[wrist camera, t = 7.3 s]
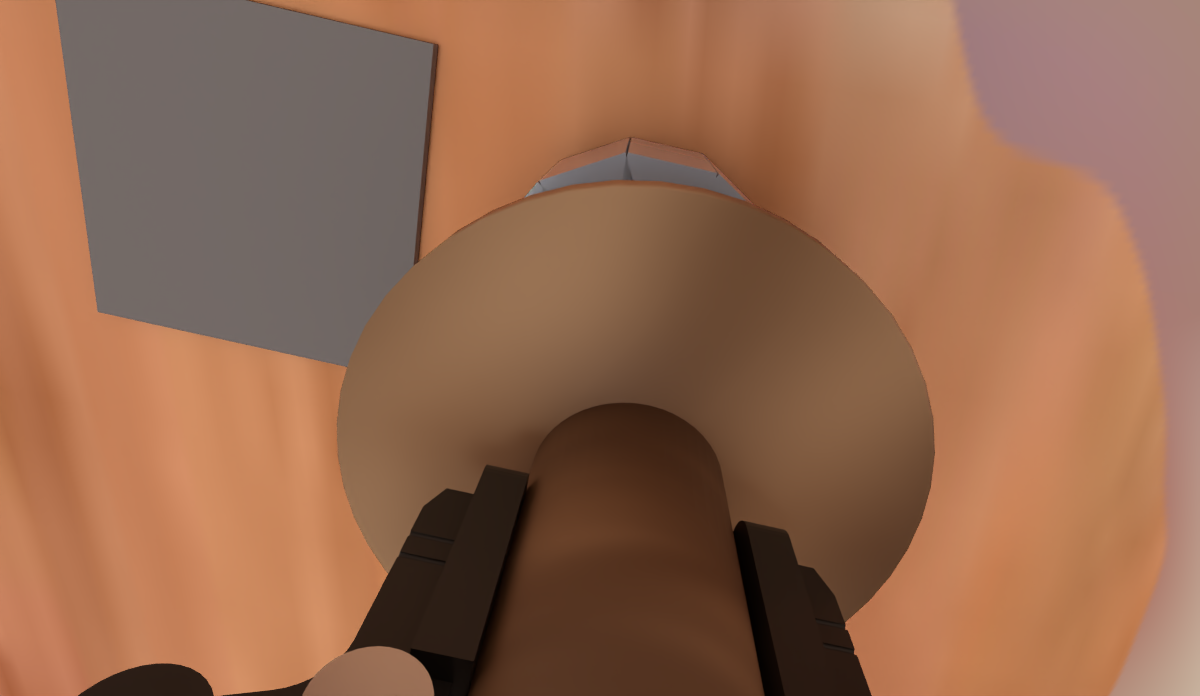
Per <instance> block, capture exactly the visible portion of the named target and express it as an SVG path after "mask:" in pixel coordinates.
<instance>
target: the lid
mask: <svg viewBox="0 0 1200 696" xmlns="http://www.w3.org/2000/svg"><path fill="white" fill-rule="evenodd" d="M337 445H338V459H339V464H340V470H341V475H342V480H343V486H344V489H345V492H346V495H347V498H348V501H349V504H350V507H351V510H352V513H353V515H354V518H355V520H356V522H357V524H358V526H359V528H360V530H361V532H362V534H363V536H364V538H365V540H366V542H367V544H368V545H369V547H370V548H371V550H372V551H373V553H374V554H375V556H376V557H377V559H378V560H379V562H380V563H381V565H382V566H383V568H384V569H385V571H386V572H387V573H389V572H390V570H391V568H392V566H393V564H394V562H395V560H396V558H397V557H398V556H399V553H400V550H401V548H402V546H403V544H404V542H405V541H406V539H407V537H408V536H409V535H410V531H411V529H412V527H413V525H414V523H415V521H416V519H417V517H418V515H419V513H420V511H421V510H422V508H423V506H424V505H425V504H427V503H428V502H429V501H431V500H432V499H433V498H435V497H436V496H437V495H438V494H440V493H441V492H442V491H444V490H445V489H446V488H448V489H453V490H457V491H462V492H467V493H471V494H474V492H475V490H476V487H477V485H478V482H479V480H480V478H481V475H482V473H483V470H484V468H485V466H486V465H487V464H488V465H492V466H497V467H501V468H506V469H511V470H515V471H520V472H524V473H529V480H528V485H527V490H526V494H525V497H524V501H523V504H522V508H521V511H520V515H519V518H518V522H517V525H516V529H515V532H514V536H513V539H512V543H511V546H510V550H509V553H508V557H507V560H506V564H505V567H504V571H503V574H502V578H501V581H500V585H499V588H498V592H497V595H496V598H495V602H494V605H493V609H492V612H491V616H490V619H489V623H488V626H487V630H486V633H485V637H484V640H483V644H482V647H481V651H480V654H479V658H478V661H477V665H476V668H475V672H474V675H473V679H472V682H471V686H470V689H469V693H468V696H765V694H764V689H763V684H762V679H761V674H760V669H759V663H758V658H757V653H756V648H755V643H754V637H753V632H752V627H751V622H750V617H749V612H748V606H747V601H746V596H745V591H744V586H743V580H742V575H741V570H740V565H739V560H738V555H737V549H736V544H735V539H734V534H733V531H734V528H735V526H736V525H737V523H738V522H739V521H741V520H743V521H747V522H752V523H757V524H761V525H766V526H770V527H775V528H780V529H784V530H786V531H787V533H788V534H789V537H790V540H791V543H792V546H793V549H794V553H795V556H796V559H797V562H798V565H802V566H806V567H811V568H814V569H815V571H816V572H817V573H818V574H819V576H820V577H821V578H822V580H823V581H824V582H825V583H826V585H827V586H828V587H829V588H830V590H831V591H832V592H833V594H834V595H835V597H836V600H837V602H838V605H839V608H840V611H841V613H842V616H843V619H844V622H846V621H847V620H848V619H849V618H851V617H852V616H853V615H854V614H855V613H856V612H857V611H858V610H859V609H860V608H862V607H863V606H864V605H865V604H866V603H867V602H868V601H869V600H870V599H871V598H872V597H873V596H874V594H875V593H876V592H877V591H878V590H879V589H880V587H881V586H882V585H883V584H884V583H885V582H886V580H887V579H888V578H889V577H890V576H891V574H892V573H893V571H894V569H895V568H896V566H897V565H898V563H899V562H900V560H901V559H902V557H903V556H904V554H905V552H906V551H907V549H908V547H909V545H910V543H911V541H912V539H913V536H914V534H915V532H916V530H917V528H918V526H919V523H920V521H921V519H922V516H923V512H924V509H925V505H926V502H927V498H928V495H929V491H930V488H931V480H932V472H933V464H934V455H935V448H934V426H933V415H932V411H931V406H930V401H929V397H928V392H927V387H926V383H925V380H924V378H923V375H922V373H921V370H920V368H919V365H918V363H917V360H916V357H915V355H914V352H913V350H912V348H911V346H910V344H909V343H908V341H907V339H906V338H905V336H904V334H903V333H902V331H901V329H900V328H899V326H898V324H897V322H896V321H895V319H894V317H893V316H892V314H891V313H890V312H889V311H888V309H887V308H886V307H885V306H884V305H883V303H882V302H881V301H880V300H879V299H878V297H877V296H876V295H875V294H874V293H873V291H872V290H871V289H870V288H869V287H868V286H867V284H866V283H865V282H864V281H863V280H862V279H861V278H860V277H858V276H857V275H856V274H855V273H854V272H853V271H852V270H851V269H850V268H849V267H848V266H847V265H845V264H844V263H843V262H842V261H841V260H840V259H839V258H837V257H836V256H835V255H834V254H833V253H832V252H831V251H830V250H828V249H827V248H826V247H825V246H824V245H823V244H822V243H820V242H819V241H818V240H816V239H815V238H813V237H812V236H810V235H808V234H807V233H805V232H804V231H802V230H801V229H799V228H798V227H796V226H795V225H793V224H791V223H790V222H788V221H787V220H785V219H784V218H781V217H779V216H777V215H775V214H773V213H771V212H768V211H766V210H764V209H762V208H760V207H758V206H755V205H753V204H751V203H749V202H747V201H744V200H741V199H738V198H734V197H731V196H728V195H725V194H721V193H718V192H715V191H711V190H708V189H705V188H700V187H693V186H687V185H681V184H675V183H669V182H663V181H637V180H611V181H602V182H593V183H583V184H574V185H569V186H565V187H561V188H557V189H553V190H549V191H545V192H541V193H537V194H533V195H530V196H527V197H525V198H522V199H520V200H517V201H515V202H512V203H510V204H507V205H505V206H502V207H500V208H497V209H495V210H493V211H491V212H489V213H487V214H486V215H484V216H482V217H480V218H479V219H477V220H475V221H474V222H472V223H470V224H468V225H467V226H465V227H463V228H461V229H460V230H458V231H457V232H455V233H454V234H453V235H452V236H450V237H449V238H448V239H447V240H445V241H444V242H443V243H442V244H440V245H439V246H438V247H436V248H435V249H434V250H433V251H431V252H430V253H429V254H428V255H426V256H425V257H424V258H423V259H421V260H420V261H419V262H418V263H417V264H415V265H414V266H413V267H412V268H411V269H410V270H409V271H408V272H407V273H406V274H405V275H404V276H403V277H402V279H401V280H400V281H399V282H398V283H397V284H396V285H395V286H394V287H393V288H392V289H391V290H390V291H389V292H388V294H387V295H386V296H385V297H384V299H383V300H382V302H381V303H380V305H379V306H378V308H377V309H376V311H375V312H374V313H373V315H372V316H371V318H370V319H369V321H368V322H367V324H366V325H365V327H364V329H363V331H362V333H361V336H360V338H359V340H358V342H357V344H356V346H355V348H354V351H353V353H352V355H351V357H350V360H349V363H348V367H347V370H346V374H345V377H344V381H343V384H342V388H341V392H340V401H339V409H338V417H337Z"/></svg>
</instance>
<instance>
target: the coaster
mask: <svg viewBox="0 0 1200 696" xmlns="http://www.w3.org/2000/svg"><path fill="white" fill-rule="evenodd" d="M55 1H56V8H57V15H58V23H59V30H60V37H61V45H62V52H63V59H64V67H65V74H66V82H67V89H68V96H69V104H70V111H71V118H72V126H73V133H74V140H75V148H76V155H77V163H78V170H79V177H80V185H81V192H82V199H83V207H84V214H85V221H86V229H87V236H88V243H89V251H90V258H91V266H92V273H93V280H94V288H95V295H96V302H97V310H98V312H101V313H105V314H110V315H114V316H119V317H124V318H128V319H133V320H137V321H142V322H146V323H151V324H155V325H160V326H164V327H169V328H173V329H178V330H182V331H187V332H191V333H196V334H201V335H205V336H210V337H214V338H219V339H223V340H228V341H232V342H237V343H241V344H246V345H250V346H255V347H259V348H264V349H268V350H273V351H277V352H282V353H287V354H291V355H296V356H300V357H305V358H309V359H314V360H318V361H323V362H327V363H332V364H336V365H341V366H345V367H348V363H349V360H350V357H351V355H352V353H353V351H354V348H355V346H356V344H357V342H358V340H359V338H360V336H361V333H362V331H363V329H364V327H365V325H366V324H367V322H368V321H369V319H370V318H371V316H372V315H373V313H374V312H375V311H376V309H377V308H378V306H379V305H380V303H381V302H382V300H383V299H384V297H385V296H386V295H387V294H388V292H389V291H390V290H391V289H392V288H393V287H394V286H395V285H396V284H397V283H398V282H399V281H400V280H401V279H402V277H403V276H404V275H405V274H406V273H407V272H408V271H409V270H410V269H411V268H412V267H413V266H414V265H415V264H417V263H418V255H419V244H420V234H421V223H422V212H423V201H424V191H425V180H426V169H427V158H428V148H429V137H430V126H431V115H432V105H433V94H434V83H435V72H436V61H437V51H438V45H436V44H432V43H428V42H423V41H419V40H415V39H410V38H406V37H402V36H398V35H393V34H389V33H385V32H381V31H376V30H372V29H368V28H363V27H359V26H355V25H351V24H346V23H342V22H338V21H334V20H329V19H325V18H321V17H316V16H312V15H308V14H304V13H299V12H295V11H291V10H287V9H282V8H278V7H274V6H269V5H265V4H261V3H257V2H252V1H248V0H55Z"/></svg>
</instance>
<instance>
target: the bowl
mask: <svg viewBox="0 0 1200 696" xmlns="http://www.w3.org/2000/svg"><path fill="white" fill-rule="evenodd" d="M611 180H637V181H663V182H669V183H675V184H681V185H687V186H693V187H700V188H705V189H708V190H711V191H715V192H718V193H721V194H725V195H728V196H731V197H734V198H738V199H741V200H744V201H747V202H749V203H751V204H753V203H752V202H751V201H750V200H749V199H748V198H747V197H746V196H745V195H744V194H743V193H742V192H741V191H740V190H739V189H738V188H737V187H736V186H735V185H734V184H733V183H732V182H731V181H730V180H729V179H728V178H727V177H726V176H725V175H724V174H723V173H722V172H721V171H720V170H719V169H718V168H717V167H716V166H715V165H714V164H713V163H712V162H711V161H710V160H709V159H708V158H707V157H706V156H705V155H703V154H702V153H698V152H694V151H690V150H685V149H681V148H677V147H672V146H668V145H664V144H659V143H655V142H651V141H646V140H642V139H638V138H634V137H632V138H631V141H630V137H628V138H625V139H622V140H619V141H616V142H613V143H610V144H607V145H604V146H601V147H598V148H595V149H592V150H589V151H586V152H583V153H580V154H577V155H574V156H571V157H568V158H565V159H562V160H561V161H559V162H558V163H557V164H556V165H555V166H554V167H553V168H552V169H551V170H550V171H549V172H547V173H546V174H545V175H544V176H543V177H542V178H541V179H540V180H539V181H538V182H537V183H536V184H535V186H534V187H533V188H532V189H531V190H530V191H529V193H528V194H527V195H526V196H525V197H527V196H530V195H533V194H537V193H541V192H545V191H549V190H553V189H557V188H561V187H565V186H569V185H574V184H583V183H593V182H602V181H611ZM525 197H524V198H525ZM753 205H754V204H753Z"/></svg>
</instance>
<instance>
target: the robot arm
mask: <svg viewBox="0 0 1200 696" xmlns="http://www.w3.org/2000/svg"><path fill="white" fill-rule="evenodd" d="M528 480H529V473H524V472H520V471H515V470H511V469H506V468H501V467H497V466H492V465H488V464H487V465H486V466H485V468H484V470H483V473H482V475H481V478H480V480H479V482H478V485H477V487H476V490H475V492H474V494H471V493H467V492H462V491H457V490H453V489H448V488H446V489H445V490H444V491H442V492H441V493H440V494H438V495H437V496H436V497H435V498H433V499H432V500H431V501H429V502H428V503H427V504H425V505H424V506H423V508H422V510H421V511H420V513H419V515H418V517H417V519H416V521H415V523H414V525H413V527H412V529H411V531H410V535H409V536H408V537H407V539H406V541H405V542H404V544H403V546H402V548H401V550H400V553H399V556H398V557H397V558H396V560H395V562H394V564H393V566H392V568H391V570H390V572H389V573H388V575H387V577H386V579H385V581H384V583H383V585H382V587H381V589H380V591H379V593H378V595H377V597H376V599H375V601H374V603H373V604H372V606H371V608H370V610H369V612H368V614H367V616H366V618H365V620H364V622H363V624H362V626H361V628H360V630H359V632H358V634H357V635H356V637H355V639H354V641H353V642H352V644H351V646H350V647H349V649H348V650H347V651H346V652H345V653H344V654H343V655H341V656H339V657H337V658H335V659H334V660H332V661H331V662H330V663H328V664H327V665H325V666H324V667H323V668H322V669H321V670H320V671H319V672H318V673H317V674H316V675H315V676H314V677H313V678H311V679H309V680H307V681H304V682H302V683H299V684H297V685H293V686H290V687H286V688H282V689H276V690H269V691H260V692H251V693H241V694H232V695H223V696H468V693H469V689H470V686H471V682H472V679H473V675H474V672H475V668H476V665H477V661H478V658H479V654H480V651H481V647H482V644H483V640H484V637H485V633H486V630H487V626H488V623H489V619H490V616H491V612H492V609H493V605H494V602H495V598H496V595H497V592H498V588H499V585H500V581H501V578H502V574H503V571H504V567H505V564H506V560H507V557H508V553H509V550H510V546H511V543H512V539H513V536H514V532H515V529H516V525H517V522H518V518H519V515H520V511H521V508H522V504H523V501H524V497H525V494H526V490H527V485H528ZM733 534H734V539H735V544H736V549H737V555H738V560H739V565H740V570H741V575H742V580H743V586H744V591H745V596H746V601H747V606H748V612H749V617H750V622H751V627H752V632H753V637H754V643H755V648H756V653H757V658H758V663H759V669H760V674H761V679H762V684H763V689H764V694H765V696H872V695H871V693H870V690H869V687H868V685H867V682H866V679H865V676H864V674H863V671H862V668H861V665H860V663H859V660H858V657H857V655H854V646H853V643H852V641H851V638H850V635H849V633H848V630H845V625H846V624H845V622H844V619H843V616H842V613H841V611H840V608H839V605H838V602H837V600H836V597H835V595H834V594H833V592H832V591H831V590H830V588H829V587H828V586H827V585H826V583H825V582H824V581H823V580H822V578H821V577H820V576H819V574H818V573H817V572H816V571H815V569H814V568H811V567H806V566H802V565H798V562H797V559H796V556H795V553H794V549H793V546H792V543H791V540H790V537H789V534H788V533H787V531H786V530H784V529H780V528H775V527H770V526H766V525H761V524H757V523H752V522H747V521H743V520H741V521H739V522H738V523H737V525H736V526H735V528H734V531H733ZM78 696H214V695H213V692H212V688H211V686H210V685H209V683H208V681H207V680H206V679H205V678H204V677H203V676H202V675H201V674H200V673H198V672H196V671H195V670H193V669H191V668H188V667H185V666H182V665H176V664H151V665H144V666H139V667H135V668H131V669H128V670H125V671H122V672H120V673H117V674H114V675H112V676H110V677H108V678H106V679H104V680H102V681H100V682H98V683H97V684H95V685H93V686H92V687H90V688H89V689H87V690H85V691H84V692H82V693H81V694H80V695H78Z"/></svg>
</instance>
